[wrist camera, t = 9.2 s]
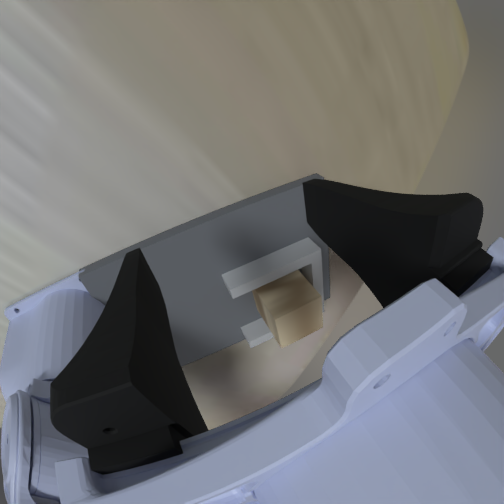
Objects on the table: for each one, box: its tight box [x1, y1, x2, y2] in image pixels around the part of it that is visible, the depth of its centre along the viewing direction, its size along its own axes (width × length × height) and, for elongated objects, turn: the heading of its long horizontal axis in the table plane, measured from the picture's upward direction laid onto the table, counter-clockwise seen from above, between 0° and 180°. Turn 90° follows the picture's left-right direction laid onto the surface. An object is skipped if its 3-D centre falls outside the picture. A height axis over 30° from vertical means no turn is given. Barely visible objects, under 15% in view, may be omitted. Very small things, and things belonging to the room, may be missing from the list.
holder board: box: [79, 173, 330, 366], centre depth 25 cm, size 20×14×3 cm
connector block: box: [252, 270, 323, 348], centre depth 25 cm, size 4×4×5 cm
